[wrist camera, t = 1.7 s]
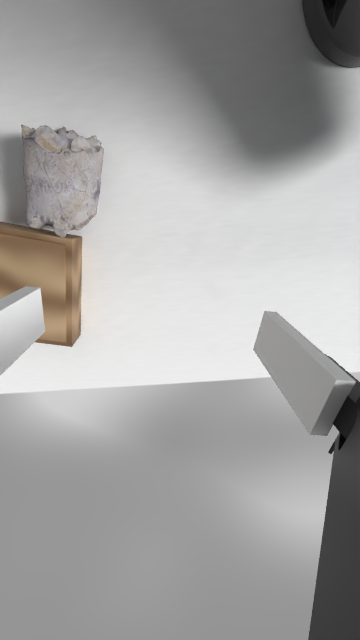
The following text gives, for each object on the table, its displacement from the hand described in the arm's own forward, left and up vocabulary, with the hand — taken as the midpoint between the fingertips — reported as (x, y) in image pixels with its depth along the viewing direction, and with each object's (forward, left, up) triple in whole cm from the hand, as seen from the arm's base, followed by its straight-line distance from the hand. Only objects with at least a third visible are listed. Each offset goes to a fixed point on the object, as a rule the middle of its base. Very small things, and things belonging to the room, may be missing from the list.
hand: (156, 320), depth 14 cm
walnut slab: (+7, -18, -23) cm, 30 cm away
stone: (-7, -13, -24) cm, 28 cm away
